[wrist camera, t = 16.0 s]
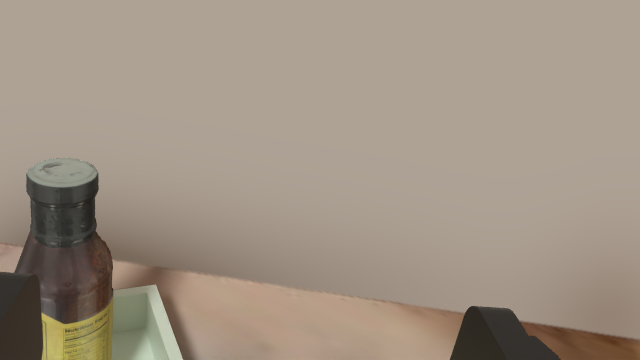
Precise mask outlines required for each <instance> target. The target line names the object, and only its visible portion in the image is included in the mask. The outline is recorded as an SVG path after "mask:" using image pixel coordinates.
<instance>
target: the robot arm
mask: <svg viewBox="0 0 640 360" xmlns="http://www.w3.org/2000/svg"><path fill="white" fill-rule="evenodd" d="M42 354H43V330H42V314H41V297H40V283H39V279H38V277H37V275H35V274H22V273H8V272H0V360H42ZM450 360H560V358H559V357H558V355H556V354H555V353H554V352H553V351H552V350H551V349H549V348H548V347H547V346H546V345H545V344H544V343H542V342H541V341H540V340H539V339H538V338H537V337H535V336H528V334H527V333H526V331H525V329H524V328H523V326H522V325H521V323H520V322H519V320H518V319H517V317H516V316H515V314H514V313H513V311H511V310H510V309H507V308H492V307H478V306H471V307H470V308H468V310H467V311H466V313H465V316H464V318H463V322H462V325H461V328H460V331H459V334H458V337H457V340H456V343H455V346H454V349H453V352H452V355H451V358H450Z"/></svg>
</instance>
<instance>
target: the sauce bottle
mask: <svg viewBox="0 0 640 360" xmlns="http://www.w3.org/2000/svg"><path fill="white" fill-rule="evenodd" d="M26 176H27V185H26V187H27V193H28V195H29V196H30V198H31V218H32V220H31V226H30V228H31V229H30V233H29V236H28V238H27V241H26V243H25V246H24V248H23V251H22V254H21V256H20V259H19V262H18V265H17V267H16V270H15V272H14V273H22V274H35V275H37V277H38V279H39V283H40V297H41V314H42V330H43V354H42V360H112V329H113V288H112V270H113V262H112V257H111V253H110V250H109V248H108V247H107V245H106V243H105V241H103V240H101V238H100V236H98V234H97V232H96V231H95V230H96V226H97V224H96V219H95V196H96V194H97V192H98V172H97V170H96V168H95V167H94V166H93V165H92V164H90V163H88V162H85V161H80V160H78V159H71V158H56V159H49V160H44V161H42V162H39V163H37V164H35V165H34V166H32V167H31V168H30V169H29V170H28V172H27V175H26Z"/></svg>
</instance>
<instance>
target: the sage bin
mask: <svg viewBox="0 0 640 360" xmlns="http://www.w3.org/2000/svg"><path fill="white" fill-rule="evenodd" d="M112 360H183V358H182V355H181V353H180V350H179V347H178V344H177V342H176V339H175V336H174V333H173V330H172V328H171V325H170V322H169V319H168V317H167V314H166V311H165V308H164V306H163V303H162V300H161V297H160V295H159V292H158V289H157V286H156V285H148V286H141V287H134V288H127V289H119V290H113V329H112Z"/></svg>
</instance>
